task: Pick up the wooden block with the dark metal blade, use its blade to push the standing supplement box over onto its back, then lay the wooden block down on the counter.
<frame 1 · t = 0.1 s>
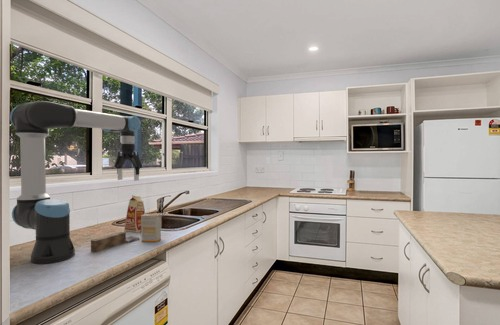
hand: (128, 180, 169), 28 cm above the countertop, tool pointing down, fingers open, 13 cm apart
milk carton: (135, 230, 166), on the countertop
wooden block: (109, 246, 134), on the countertop
supplement box: (151, 241, 144), on the countertop
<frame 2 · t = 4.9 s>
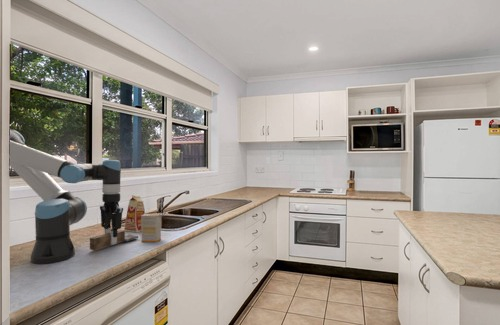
hand: (111, 243, 136), 1 cm above the countertop, tool pointing down, fingers closed on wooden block, 3 cm apart
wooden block: (108, 244, 134), point 1 cm above the countertop, touching gripper
everything else where it was.
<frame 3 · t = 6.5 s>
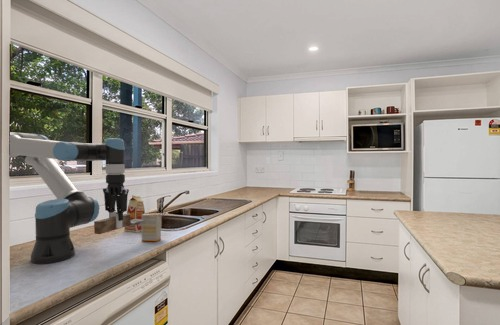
hand: (116, 227, 128), 11 cm above the countertop, tool pointing down, fingers closed on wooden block, 3 cm apart
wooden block: (113, 229, 126), point 10 cm above the countertop, touching gripper
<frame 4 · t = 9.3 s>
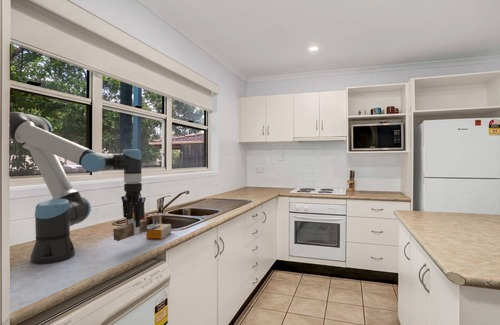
hand: (133, 233, 134), 6 cm above the countertop, tool pointing down, fingers closed on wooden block, 3 cm apart
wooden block: (131, 235, 133), point 6 cm above the countertop, touching gripper
supplement box: (153, 234, 146), point 2 cm above the countertop
everything else where it was.
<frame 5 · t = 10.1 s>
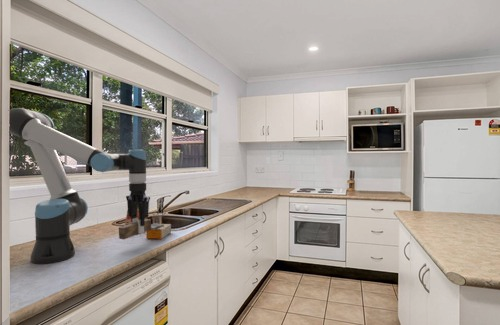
hand: (138, 232, 137), 6 cm above the countertop, tool pointing down, fingers closed on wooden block, 3 cm apart
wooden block: (135, 233, 136), point 6 cm above the countertop, touching gripper
everything else where it was.
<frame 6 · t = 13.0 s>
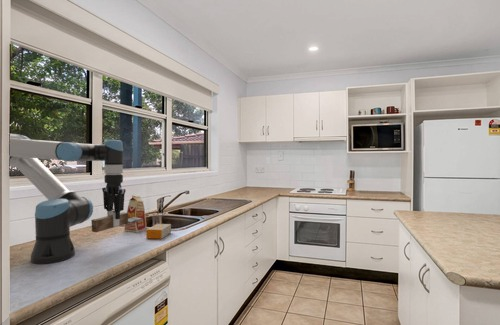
hand: (113, 225, 132), 10 cm above the countertop, tool pointing down, fingers closed on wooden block, 3 cm apart
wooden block: (111, 227, 131), point 10 cm above the countertop, touching gripper
everything else where it was.
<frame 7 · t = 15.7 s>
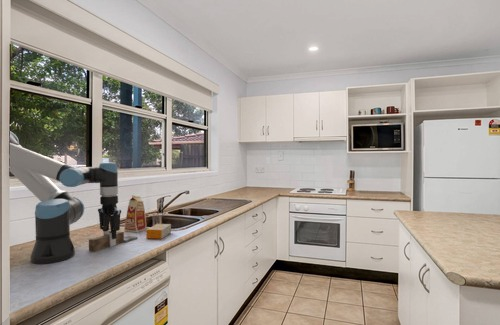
hand: (110, 245, 137), 0 cm above the countertop, tool pointing down, fingers open, 3 cm apart
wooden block: (107, 246, 136), on the countertop, touching gripper
everything else where it was.
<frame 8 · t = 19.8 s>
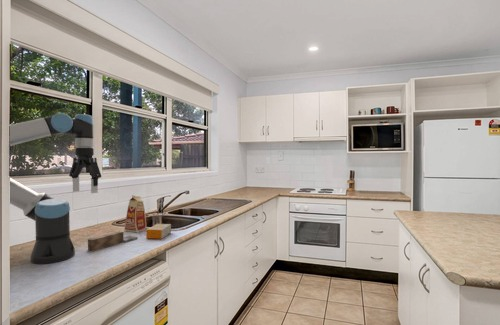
hand: (85, 192, 138), 25 cm above the countertop, tool pointing down, fingers open, 13 cm apart
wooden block: (106, 246, 136), on the countertop
everything else where it was.
at the end: supplement box tilted 90°; the gripper is holding nothing; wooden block on the countertop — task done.
